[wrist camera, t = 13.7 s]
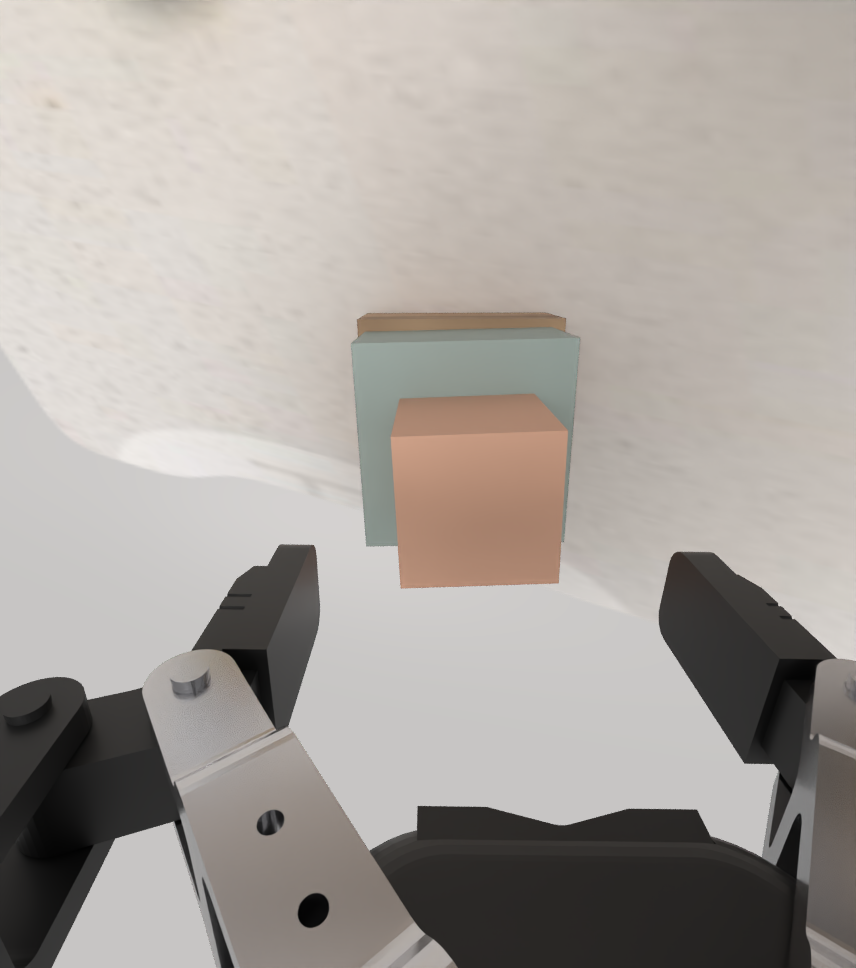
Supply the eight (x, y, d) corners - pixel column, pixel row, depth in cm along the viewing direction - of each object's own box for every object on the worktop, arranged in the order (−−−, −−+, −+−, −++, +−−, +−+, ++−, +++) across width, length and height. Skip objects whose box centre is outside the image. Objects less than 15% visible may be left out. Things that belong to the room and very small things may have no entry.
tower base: (367, 313, 30) (357, 319, 25) (544, 312, 30) (566, 318, 25) (375, 477, 33) (366, 510, 29) (532, 477, 33) (549, 509, 29)
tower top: (365, 331, 25) (351, 343, 21) (552, 326, 25) (580, 337, 20) (376, 502, 28) (366, 546, 24) (541, 499, 28) (563, 541, 24)
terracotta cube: (399, 398, 21) (390, 437, 16) (534, 393, 21) (567, 430, 16) (406, 520, 23) (400, 588, 18) (529, 516, 23) (558, 583, 18)
